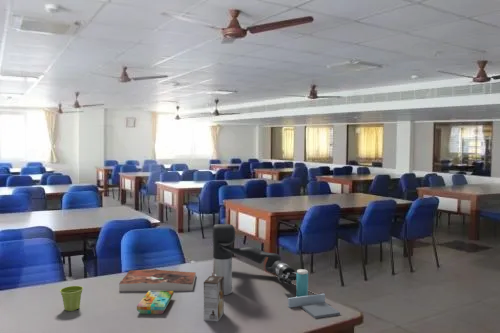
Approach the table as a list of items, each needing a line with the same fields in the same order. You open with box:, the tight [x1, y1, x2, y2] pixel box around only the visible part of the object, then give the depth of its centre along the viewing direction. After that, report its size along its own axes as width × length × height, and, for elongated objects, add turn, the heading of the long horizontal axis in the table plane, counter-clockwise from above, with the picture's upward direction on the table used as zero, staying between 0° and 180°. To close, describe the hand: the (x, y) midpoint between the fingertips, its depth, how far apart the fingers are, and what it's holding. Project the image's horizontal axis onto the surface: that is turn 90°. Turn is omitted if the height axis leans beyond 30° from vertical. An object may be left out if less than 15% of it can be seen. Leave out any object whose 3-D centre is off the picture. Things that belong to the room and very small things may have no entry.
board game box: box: [118, 268, 197, 292], centre depth 227 cm, size 36×23×5 cm, turn 93°
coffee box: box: [203, 275, 225, 322], centre depth 183 cm, size 9×6×16 cm
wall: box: [287, 293, 326, 309], centre depth 198 cm, size 18×1×4 cm, turn 110°
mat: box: [300, 301, 341, 319], centre depth 190 cm, size 12×13×1 cm
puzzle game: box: [136, 291, 174, 315], centre depth 195 cm, size 12×5×20 cm
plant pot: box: [59, 285, 84, 312], centre depth 191 cm, size 9×9×9 cm
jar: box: [295, 268, 309, 297], centre depth 206 cm, size 6×6×13 cm
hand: (298, 282), depth 209 cm, fingers open, 8 cm apart
